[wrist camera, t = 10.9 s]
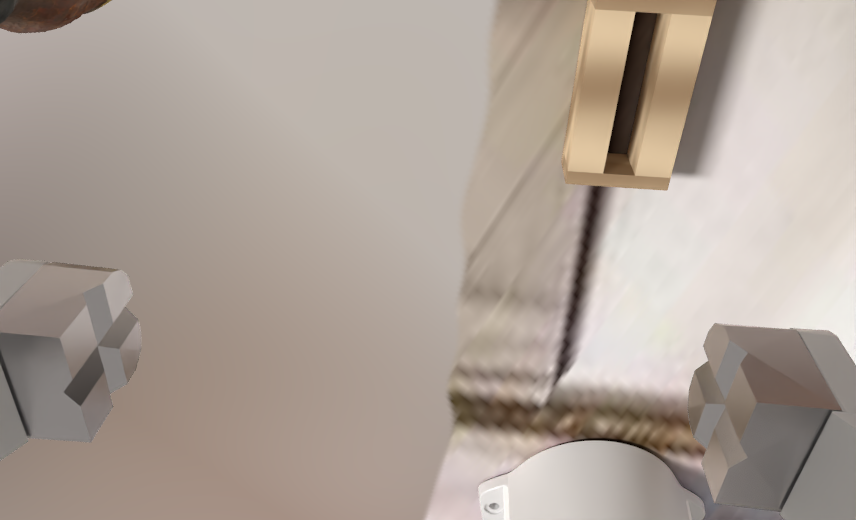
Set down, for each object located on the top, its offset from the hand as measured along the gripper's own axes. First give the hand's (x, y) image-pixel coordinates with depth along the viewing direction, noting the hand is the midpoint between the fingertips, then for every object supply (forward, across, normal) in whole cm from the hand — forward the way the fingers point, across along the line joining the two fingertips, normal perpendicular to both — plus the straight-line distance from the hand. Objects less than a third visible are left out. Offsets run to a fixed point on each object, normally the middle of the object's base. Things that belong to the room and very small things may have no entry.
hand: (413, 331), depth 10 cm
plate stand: (+32, -9, +7) cm, 34 cm away
